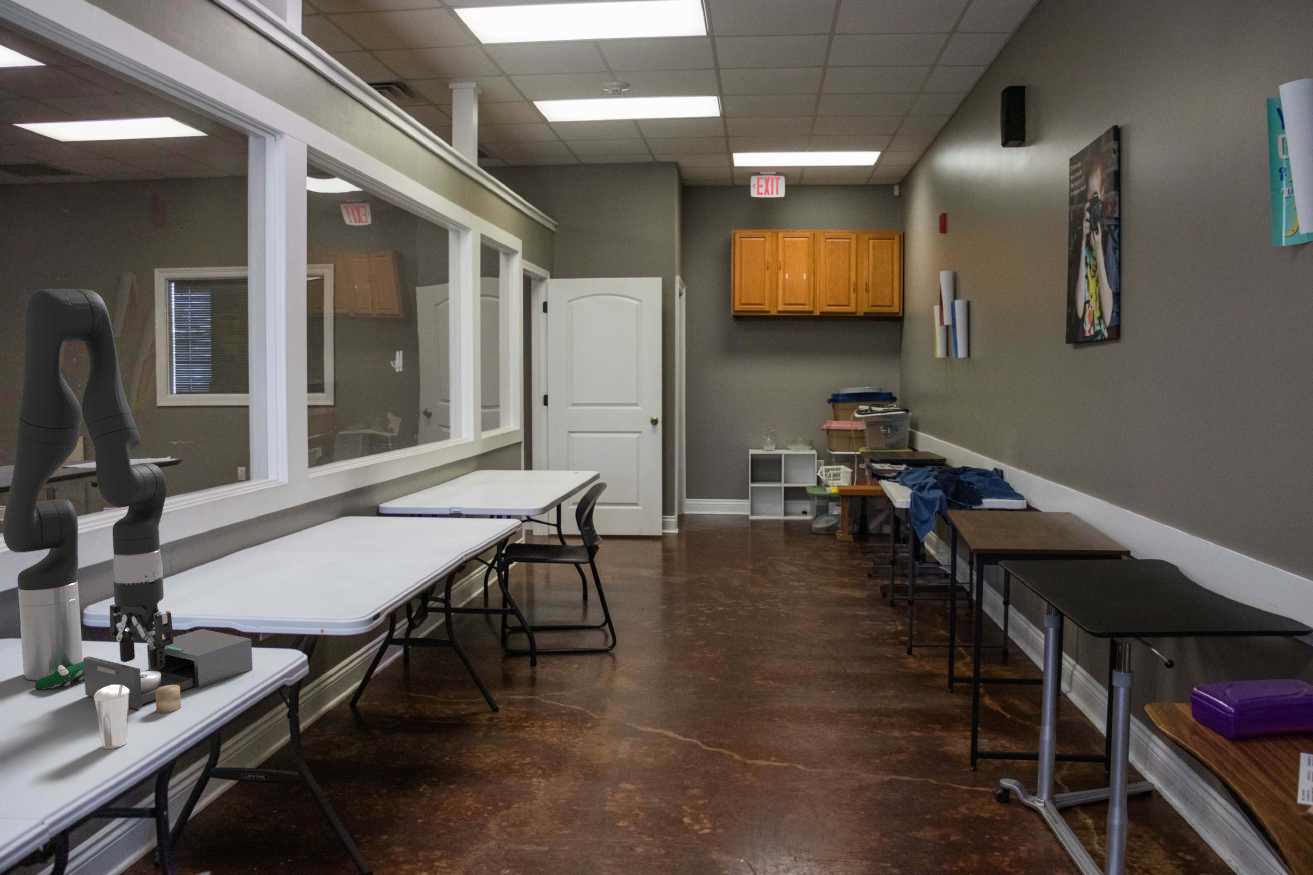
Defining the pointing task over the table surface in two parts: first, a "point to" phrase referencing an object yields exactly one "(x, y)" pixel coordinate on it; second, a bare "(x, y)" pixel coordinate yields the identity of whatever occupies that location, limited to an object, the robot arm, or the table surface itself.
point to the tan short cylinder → (168, 698)
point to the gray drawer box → (208, 655)
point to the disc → (150, 680)
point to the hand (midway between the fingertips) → (142, 664)
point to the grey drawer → (125, 680)
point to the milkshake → (112, 715)
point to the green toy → (62, 676)
